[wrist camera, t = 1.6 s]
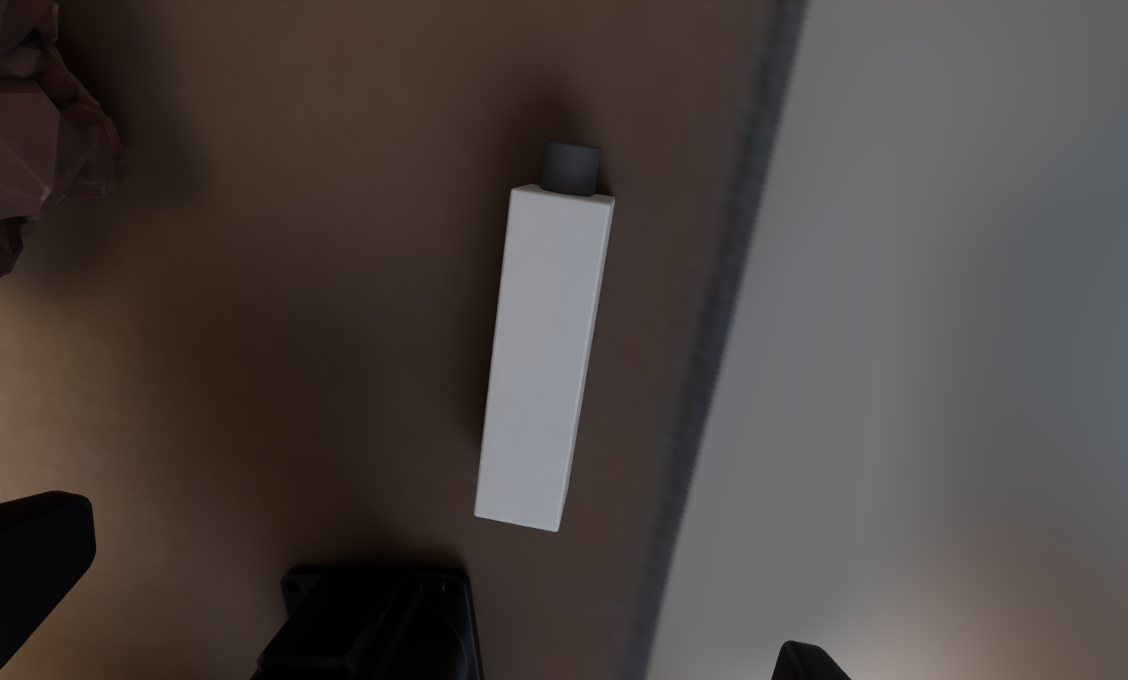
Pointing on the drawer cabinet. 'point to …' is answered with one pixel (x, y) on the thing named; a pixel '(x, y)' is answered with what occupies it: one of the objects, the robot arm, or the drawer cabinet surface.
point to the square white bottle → (543, 338)
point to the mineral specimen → (46, 128)
